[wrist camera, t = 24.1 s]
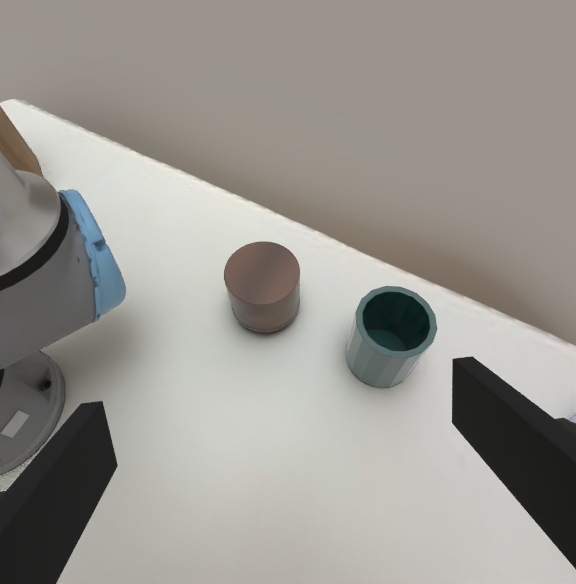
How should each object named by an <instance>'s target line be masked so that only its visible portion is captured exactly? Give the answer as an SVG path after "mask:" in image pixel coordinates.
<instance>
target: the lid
mask: <svg viewBox="0 0 576 584" xmlns="http://www.w3.org/2000/svg"><path fill="white" fill-rule="evenodd" d="M224 280H225V284H226V287H227V291H228V294H229V298H230V301H231V305H232V309H233V313H234V315H235V317H236V319H237V320H238V321H239V322H240V323H241V324H242V325H243V326H244V327H246V328H248V329H250V330H252V331H256V332H262V333H266V332H273V331H277V330H280V329H282V328H284V327H285V326H287V325H288V324H289V323H290V322H291V321H292V320H293V319H294V318H295V316H296V315H297V312H298V310H299V305H300V296H299V294H300V268H299V264H298V261H297V259H296V257H295V256H294V255H293V254H292V253H291V252H290V251H289V250H288V249H287V248H285V247H283V246H281V245H279V244H276V243H272V242H255V243H251V244H248V245H245V246H243V247H241V248H240V249H238V250H237V251H236V252H235V253H234V254H232V256H231V257H230V258H229V260H228V261H227V264H226V266H225V270H224Z"/></svg>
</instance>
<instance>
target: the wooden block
mask: <svg viewBox="0 0 576 584" xmlns="http://www.w3.org/2000/svg"><path fill="white" fill-rule="evenodd" d="M0 151H1V153H2V154H3V155H4V156H5V158H6V159H7V160H8V161H9V163H10V164H11V165H12V167H13V168H14V169H15V170H21V171H27V172H31V173H34V174H37V175H39V176H41V177H43V175H42V172H41V169H40V166H39V163H38V160H37V157H36V156H35V155H34V153H33V152H32V150H31V149H30V148H29V146H28V145H27V143H26V142H25V140H24V139H23V138H22V136H21V135H20V133H19V132H18V131H17V129H16V128H15V126H14V125H13V123H12V122H11V121H10V119H9V118H8V116H7V115H6V113H5V112H4V111H3V109H2V108H1V106H0Z"/></svg>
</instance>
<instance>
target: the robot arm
mask: <svg viewBox="0 0 576 584" xmlns="http://www.w3.org/2000/svg"><path fill="white" fill-rule="evenodd" d="M125 295H126V286H125V283H124V280H123V277H122V275H121V272H120V270H119V268H118V265H117V263H116V261H115V259H114V257H113V255H112V253H111V251H110V249H109V247H108V245H107V244H106V241H105V239H104V237H103V235H102V233H101V230H100V228H99V226H98V224H97V222H96V220H95V219H94V217H93V215H92V213H91V211H90V209H89V208H88V206H87V204H86V202H85V201H84V199H83V198H82V196H81V195H80V193H79V192H78V191H76V190H67V191H65V190H60V191H59V192H57V191H56V190H55V188H54V187H53V186H52V185H51V184H50V183H49V182H48V181H47V180H46V179H44V178H43V177H41V176H39V175H37V174H34V173H31V172H27V171H21V170H15V169H14V168H13V167H12V165H11V164H10V163H9V161H8V160H7V159H6V158H5V156H4V155H3V154H2V153H1V151H0V475H1V474H3V473H5V472H7V471H10V470H11V469H13V468H15V467H17V466H18V465H20V464H21V463H22V462H24V461H25V460H26V459H28V458H29V457H30V456H31V455H32V454H33V453H35V452H36V451H37V450H38V449H39V447H40V446H41V445H42V444H43V443H44V442H45V441H46V439H47V438H48V436H49V435H50V434H51V432H52V430H53V429H54V427H55V425H56V423H57V421H58V419H59V417H60V414H61V411H62V408H63V403H64V397H65V386H64V380H63V376H62V373H61V371H60V369H59V368H58V366H57V365H56V364H55V363H54V361H53V360H51V359H50V358H49V357H48V356H46V355H45V354H43V353H42V352H40V351H39V350H40V349H42V348H44V347H46V346H48V345H50V344H51V343H53V342H55V341H57V340H59V339H61V338H63V337H65V336H67V335H69V334H71V333H72V332H74V331H76V330H78V329H80V328H82V327H84V326H86V325H88V324H90V323H92V322H95V321H97V320H98V319H99V317H100V316H102V315H103V314H105V313H106V312H108V311H110V310H111V309H113V308H115V307H116V306H118V305H119V304H120V303H121V302H122V301H123V300H124V298H125ZM452 423H453V425H454V426H455V427H456V428H457V429H458V430H459V432H460V433H461V434H462V435H463V436H464V438H465V439H466V440H467V441H468V442H469V443H470V445H471V446H472V447H473V448H474V449H475V451H476V452H477V453H478V454H479V455H480V456H481V458H482V459H483V460H484V461H485V462H486V464H487V465H488V466H489V467H490V468H491V470H492V471H493V472H494V473H495V474H496V475H497V477H498V478H499V479H500V480H501V481H502V483H503V484H504V485H505V486H506V487H507V488H508V490H509V491H510V492H511V493H512V494H513V496H514V497H515V498H516V499H517V500H518V501H519V503H520V504H521V505H522V506H523V507H524V509H525V510H526V511H527V512H528V513H529V514H530V516H531V517H532V518H533V519H534V520H535V522H536V523H537V524H538V525H539V526H540V527H541V529H542V530H543V531H544V532H545V533H546V535H547V536H548V537H549V538H550V539H551V540H552V542H553V543H554V544H555V545H556V546H557V548H558V549H559V550H560V551H561V552H562V554H563V555H564V556H565V557H566V558H567V559H568V561H569V562H570V563H571V564H572V565H573V567H574V568H575V569H576V423H574V422H571V421H569V420H567V419H565V418H559V419H554V418H553V417H551V416H550V415H549V414H547V413H546V412H545V411H543V410H542V409H541V408H539V407H538V406H537V405H535V404H534V403H533V402H531V401H530V400H529V399H528V398H526V397H525V396H524V395H522V394H521V393H520V392H518V391H517V390H516V389H514V388H513V387H512V386H510V385H509V384H508V383H506V382H505V381H504V380H502V379H501V378H500V377H499V376H497V375H496V374H495V373H493V372H492V371H491V370H489V369H488V368H487V367H485V366H484V365H483V364H481V363H480V362H479V361H477V360H476V359H475V358H474V357H464V358H456V359H453V377H452ZM117 466H118V465H117V461H116V457H115V452H114V448H113V444H112V440H111V435H110V431H109V427H108V423H107V418H106V414H105V410H104V406H103V401H99V402H91V403H82V404H80V406H79V407H78V408H77V409H76V410H75V411H74V413H73V414H72V415H71V416H70V417H69V418H68V420H67V421H66V422H65V423H64V424H63V425H62V427H61V428H60V429H59V430H58V431H57V432H56V434H55V435H54V436H53V437H52V438H51V439H50V441H49V442H48V443H47V444H46V445H45V446H44V448H43V449H42V450H41V451H40V452H39V453H38V455H37V456H36V457H35V458H34V459H33V460H32V462H31V463H30V464H29V465H28V466H27V467H26V469H25V470H24V471H23V472H22V473H21V474H20V476H19V477H18V478H17V479H16V480H15V481H14V483H13V484H12V485H11V486H10V487H9V489H8V490H7V491H3V492H0V584H56V582H57V581H58V579H59V577H60V575H61V573H62V571H63V569H64V567H65V565H66V563H67V561H68V560H69V558H70V556H71V554H72V552H73V550H74V548H75V546H76V544H77V542H78V540H79V539H80V537H81V535H82V533H83V531H84V529H85V527H86V525H87V523H88V521H89V519H90V518H91V516H92V514H93V512H94V510H95V508H96V506H97V504H98V502H99V500H100V498H101V497H102V495H103V493H104V491H105V489H106V487H107V485H108V483H109V481H110V479H111V477H112V476H113V474H114V472H115V470H116V468H117Z"/></svg>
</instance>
